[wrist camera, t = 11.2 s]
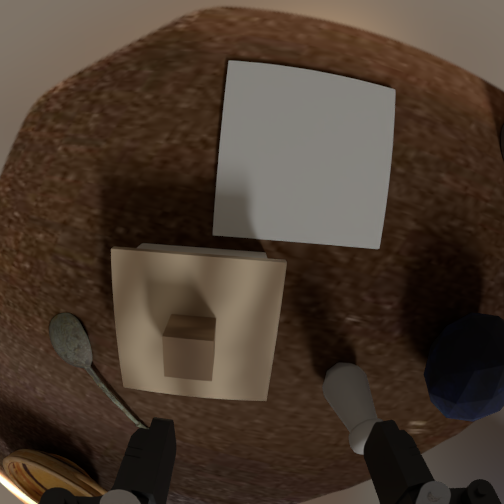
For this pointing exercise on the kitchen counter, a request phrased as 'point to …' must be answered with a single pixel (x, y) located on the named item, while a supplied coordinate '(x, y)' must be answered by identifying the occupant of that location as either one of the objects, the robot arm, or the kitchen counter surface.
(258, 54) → the kitchen counter surface
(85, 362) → the soupspoon
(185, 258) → the lid
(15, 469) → the ceramic bowl
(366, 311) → the kitchen counter surface
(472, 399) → the decorative orb
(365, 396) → the salt shaker
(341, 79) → the tray
